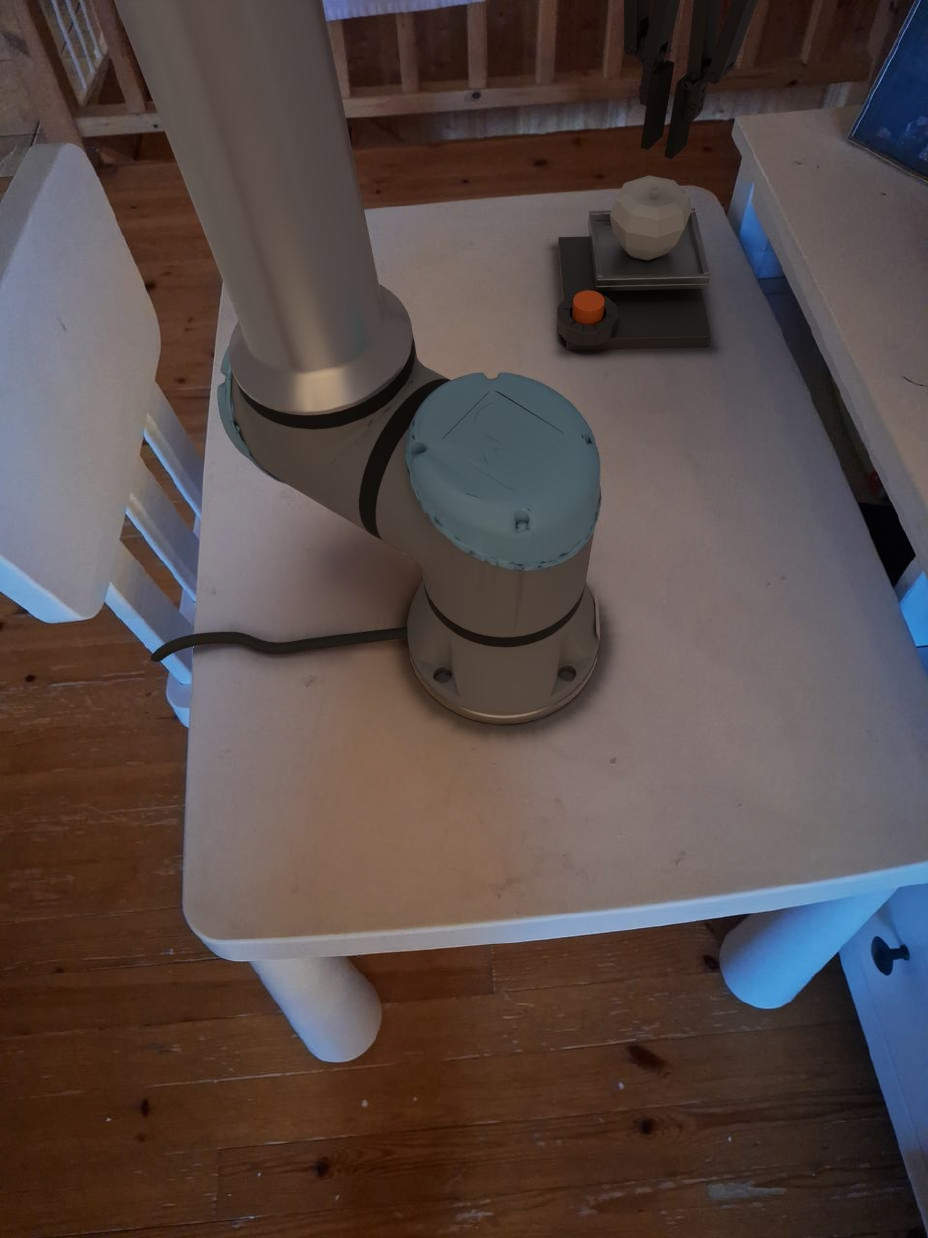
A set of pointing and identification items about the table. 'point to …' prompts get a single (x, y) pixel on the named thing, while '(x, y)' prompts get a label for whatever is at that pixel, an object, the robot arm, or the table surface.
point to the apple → (650, 216)
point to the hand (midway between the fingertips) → (663, 145)
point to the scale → (626, 310)
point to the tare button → (588, 307)
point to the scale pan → (661, 273)
